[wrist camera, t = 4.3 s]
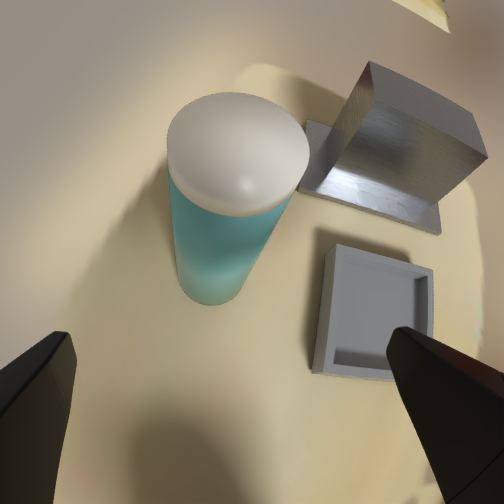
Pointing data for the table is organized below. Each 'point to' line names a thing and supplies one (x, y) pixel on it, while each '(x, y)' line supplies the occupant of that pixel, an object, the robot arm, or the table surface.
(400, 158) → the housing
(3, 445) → the robot arm
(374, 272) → the holder tray
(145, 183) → the table surface
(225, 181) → the canister
